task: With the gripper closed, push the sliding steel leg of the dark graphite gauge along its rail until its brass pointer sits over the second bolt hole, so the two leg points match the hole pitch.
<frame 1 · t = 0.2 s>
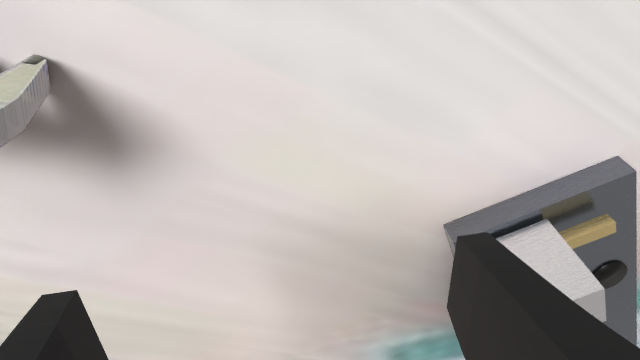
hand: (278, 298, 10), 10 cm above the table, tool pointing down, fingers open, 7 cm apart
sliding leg: (567, 269, 21), point 3 cm above the table, slide at 0.0 cm
gauge plate: (547, 300, 27), on the table
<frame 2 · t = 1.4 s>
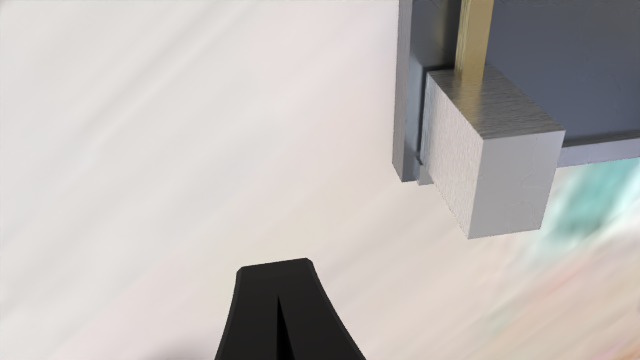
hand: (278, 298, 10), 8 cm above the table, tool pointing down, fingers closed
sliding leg: (486, 108, 14), point 3 cm above the table, slide at 0.0 cm
gauge plate: (633, 32, 17), on the table
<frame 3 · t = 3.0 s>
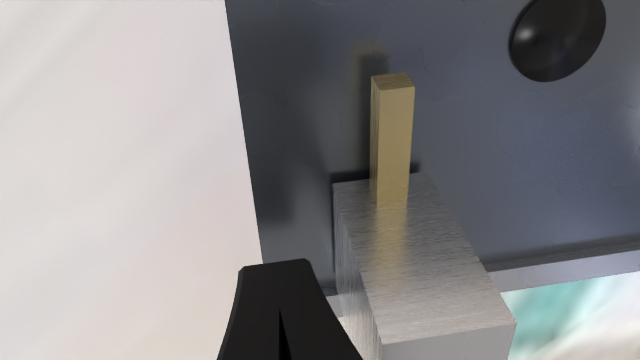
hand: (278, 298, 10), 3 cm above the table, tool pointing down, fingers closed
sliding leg: (408, 254, 9), point 3 cm above the table, slide at 1.1 cm, touching gripper
gauge plate: (584, 117, 12), on the table
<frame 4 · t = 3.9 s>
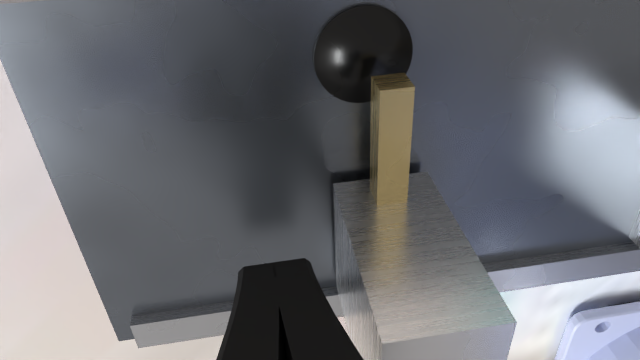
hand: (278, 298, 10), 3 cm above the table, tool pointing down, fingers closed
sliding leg: (408, 253, 9), point 3 cm above the table, slide at 4.8 cm, touching gripper
gauge plate: (434, 135, 12), on the table
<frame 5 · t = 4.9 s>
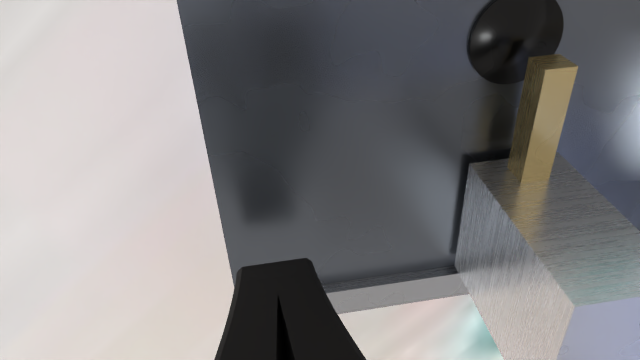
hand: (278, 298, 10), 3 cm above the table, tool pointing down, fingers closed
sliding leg: (561, 227, 10), point 3 cm above the table, slide at 4.9 cm
gauge plate: (551, 118, 12), on the table
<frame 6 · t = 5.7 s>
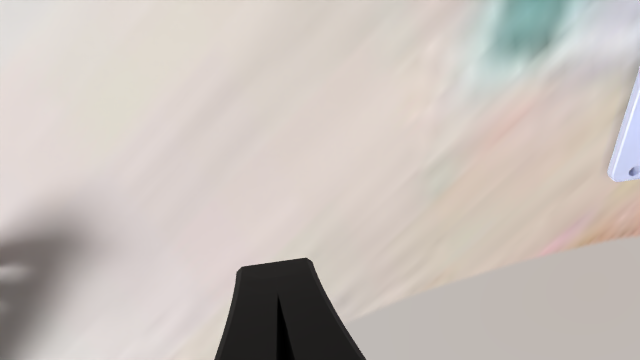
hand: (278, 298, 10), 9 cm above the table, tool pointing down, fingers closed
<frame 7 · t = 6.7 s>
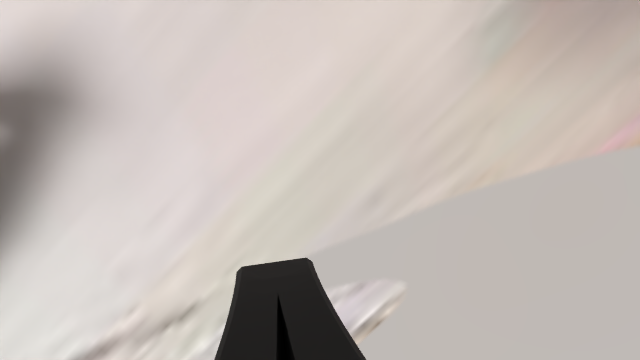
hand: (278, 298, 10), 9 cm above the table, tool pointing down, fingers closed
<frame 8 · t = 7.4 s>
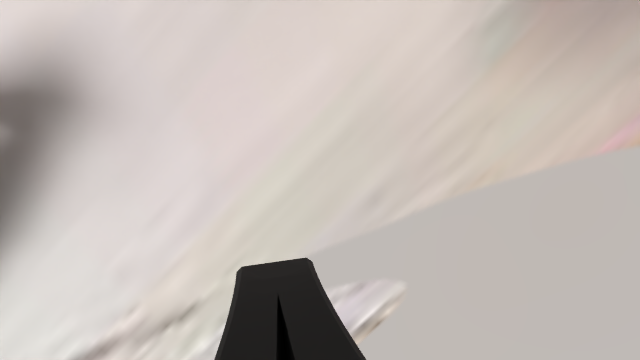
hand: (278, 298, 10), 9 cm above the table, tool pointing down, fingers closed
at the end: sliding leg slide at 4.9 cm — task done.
